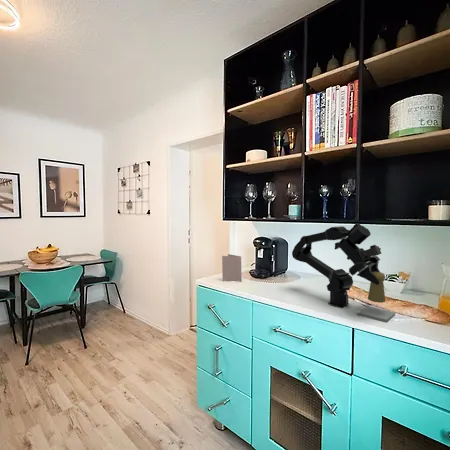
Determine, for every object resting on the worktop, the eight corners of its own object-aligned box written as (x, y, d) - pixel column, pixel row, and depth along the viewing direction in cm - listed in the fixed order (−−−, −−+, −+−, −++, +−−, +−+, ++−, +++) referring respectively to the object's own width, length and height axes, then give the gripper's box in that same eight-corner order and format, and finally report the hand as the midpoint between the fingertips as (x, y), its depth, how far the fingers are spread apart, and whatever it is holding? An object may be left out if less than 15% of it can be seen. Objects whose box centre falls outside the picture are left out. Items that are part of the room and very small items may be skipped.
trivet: (358, 314, 104) (358, 312, 104) (367, 308, 111) (367, 305, 111) (386, 322, 97) (386, 319, 97) (395, 314, 104) (395, 312, 104)
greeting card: (242, 281, 155) (242, 256, 154) (233, 284, 150) (232, 257, 149) (229, 278, 163) (229, 253, 163) (220, 280, 159) (219, 255, 158)
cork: (379, 297, 107) (380, 270, 106) (389, 302, 101) (390, 274, 100) (364, 297, 107) (365, 270, 106) (373, 302, 101) (374, 274, 100)
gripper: (358, 240, 99) (390, 275, 92) (375, 236, 112) (405, 266, 104) (336, 258, 105) (365, 292, 98) (355, 252, 118) (382, 282, 111)
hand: (381, 282), depth 102 cm, fingers closed on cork, 5 cm apart
